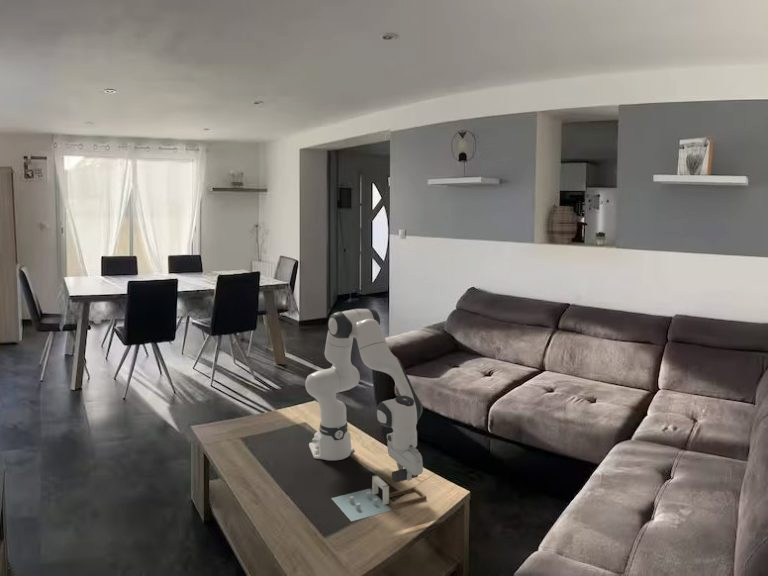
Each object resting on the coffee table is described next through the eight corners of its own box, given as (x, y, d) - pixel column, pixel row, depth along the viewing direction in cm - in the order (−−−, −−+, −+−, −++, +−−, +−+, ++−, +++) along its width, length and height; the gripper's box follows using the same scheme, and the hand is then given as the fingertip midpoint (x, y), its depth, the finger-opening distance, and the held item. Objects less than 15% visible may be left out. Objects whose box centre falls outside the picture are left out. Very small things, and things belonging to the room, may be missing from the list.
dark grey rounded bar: (391, 480, 218) (391, 469, 218) (412, 474, 222) (412, 464, 222) (396, 484, 215) (396, 474, 214) (418, 479, 219) (418, 468, 218)
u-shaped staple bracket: (372, 493, 223) (372, 476, 222) (377, 492, 224) (376, 475, 223) (384, 504, 215) (383, 487, 214) (388, 503, 216) (388, 486, 215)
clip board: (331, 500, 221) (331, 493, 220) (369, 490, 228) (369, 483, 227) (351, 524, 205) (351, 515, 204) (392, 512, 212) (392, 504, 212)
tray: (383, 500, 221) (383, 494, 220) (414, 491, 227) (414, 486, 227) (394, 510, 213) (394, 505, 213) (426, 501, 219) (426, 496, 219)
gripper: (427, 449, 209) (427, 486, 211) (399, 430, 227) (399, 464, 229) (411, 453, 206) (411, 490, 208) (384, 433, 224) (384, 467, 226)
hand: (405, 476), depth 219 cm, fingers closed on dark grey rounded bar, 4 cm apart
